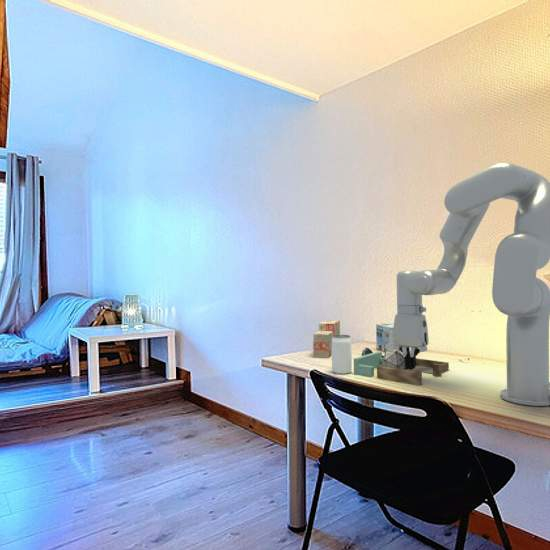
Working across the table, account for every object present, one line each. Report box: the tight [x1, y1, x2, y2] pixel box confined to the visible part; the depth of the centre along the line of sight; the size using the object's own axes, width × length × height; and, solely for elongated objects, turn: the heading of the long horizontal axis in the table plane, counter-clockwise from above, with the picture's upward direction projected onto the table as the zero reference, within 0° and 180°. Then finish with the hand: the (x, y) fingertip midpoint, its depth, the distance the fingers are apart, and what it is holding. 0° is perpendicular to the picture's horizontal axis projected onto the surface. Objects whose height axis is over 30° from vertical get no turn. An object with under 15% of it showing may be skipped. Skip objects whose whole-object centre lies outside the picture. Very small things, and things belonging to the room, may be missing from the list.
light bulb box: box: [375, 322, 401, 352], centre depth 183 cm, size 11×7×11 cm, turn 17°
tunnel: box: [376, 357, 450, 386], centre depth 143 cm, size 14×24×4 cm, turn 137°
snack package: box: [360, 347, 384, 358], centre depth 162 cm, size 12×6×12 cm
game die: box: [380, 349, 405, 369], centre depth 144 cm, size 9×8×10 cm
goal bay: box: [353, 351, 384, 378], centre depth 148 cm, size 6×15×5 cm, turn 137°
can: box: [331, 334, 353, 375], centre depth 148 cm, size 6×6×12 cm
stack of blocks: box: [312, 319, 341, 359], centre depth 182 cm, size 21×6×12 cm, turn 160°
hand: (410, 368), depth 140 cm, fingers closed
